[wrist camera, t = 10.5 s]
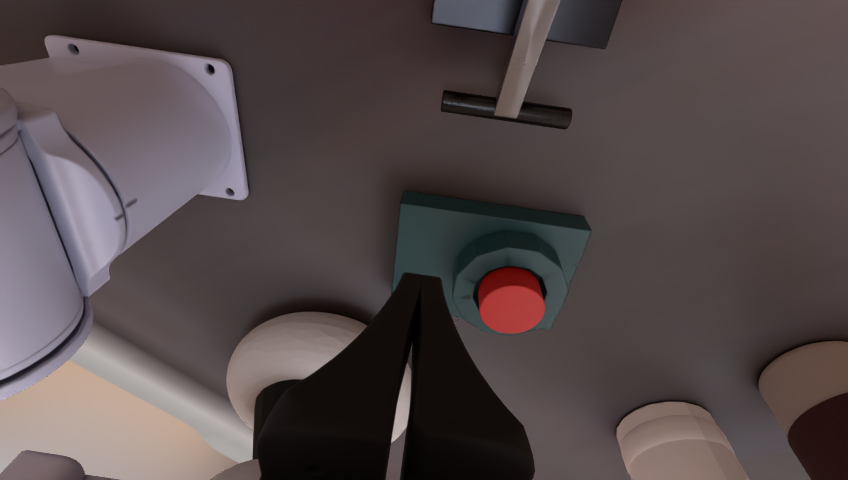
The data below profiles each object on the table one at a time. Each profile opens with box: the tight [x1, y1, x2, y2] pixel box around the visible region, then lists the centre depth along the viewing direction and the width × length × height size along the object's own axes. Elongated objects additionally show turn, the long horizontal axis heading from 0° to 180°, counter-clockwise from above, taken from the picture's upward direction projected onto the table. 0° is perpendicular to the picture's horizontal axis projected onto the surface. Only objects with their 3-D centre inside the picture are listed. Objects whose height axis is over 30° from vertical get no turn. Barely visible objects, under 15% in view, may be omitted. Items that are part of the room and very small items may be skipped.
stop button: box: [478, 267, 545, 334], centre depth 22 cm, size 4×4×2 cm
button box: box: [391, 191, 592, 335], centre depth 24 cm, size 11×8×4 cm
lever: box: [441, 0, 572, 129], centre depth 14 cm, size 11×6×2 cm, turn 173°
